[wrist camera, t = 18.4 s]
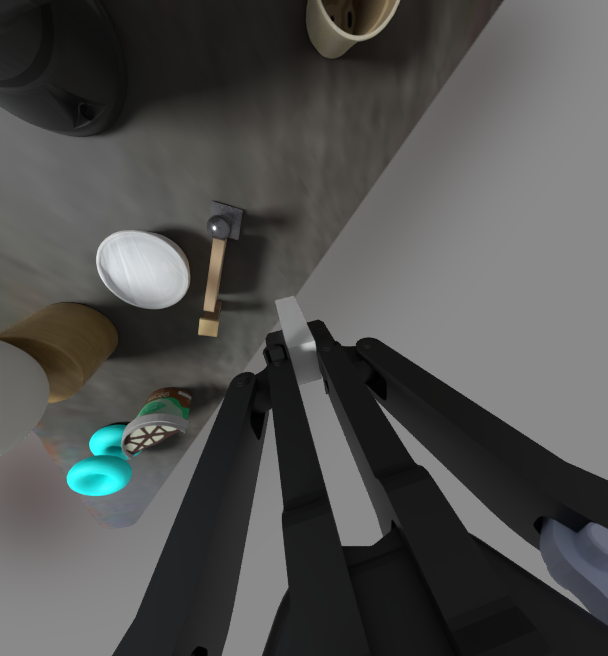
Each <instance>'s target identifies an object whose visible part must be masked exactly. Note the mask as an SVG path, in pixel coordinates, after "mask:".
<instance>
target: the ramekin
mask: <svg viewBox="0 0 608 656" xmlns="http://www.w3.org/2000/svg"><path fill="white" fill-rule="evenodd" d="M96 264H97V269H98V272H99V275H100V277H101V279H102V280H103V282H104V284H105V285H106V286H107V287H108V289H109V290H110V291H111V292H113V293H114V294H115V295H116V296H117V297H119V298H120V299H122V300H123V301H125V302H127V303H129V304H131V305H134V306H137V307H141V308H146V309H162V308H166V307H169V306H171V305H174V304H175V303H177V302H178V301H180V300H181V299H182V298H183V296H184V295H185V294H186V292H187V290H188V288H189V285H190V267H189V262H188V259H187V258H186V255H185V254H184V252H183V251H182V250H181V248H180V247H179V246H178V245H177V244H175V243H174V242H173V241H171V240H170V239H169V238H167V237H165V236H162V235H160V234H157V233H151V232H147V231H143V230H124V231H119V232H116V233H114V234H112V235H110V236H108V237H107V238H106V239H105V240H104V241H103V242H102V243H101V245H100V246H99V248H98V251H97V257H96Z"/></svg>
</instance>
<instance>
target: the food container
mask: <svg viewBox="0 0 608 656" xmlns="http://www.w3.org/2000/svg"><path fill="white" fill-rule="evenodd" d="M191 398H192V394H190V393H189V392H187V391H185V390H183V389H179V388H174V387H171V388H162V389H159V390H156V391H155V392H153V393H152V394H151V395H150V397H149V398H148V400H147V402H146V403H145V405H144V406H143V408H142V409H141V411H140V413H139V414H138V416H137V417H136V419H135V420H133V421H132V422H130V423H129V424H128V425H127V426H126V428H125V430H124V432H123V436H122V441H121V444H122V451H123V453H124V454H125V455H126V456H127V457H128V458H129V459H131V460H132V458H133V456H134V454H136V453H138V452H140V451H141V450H143V449H146V448H148V447H151V446H154V445H156V444H158V443H160V442H162V441H163V440H165V439H166V438H168V437H170V436H171V435H173V434H175V433H177V432H179V431H182V432H184V433H185V431H186V430H187V428H188V426H189V424H190V422H189V421H188V415H189V409H190V403H191Z"/></svg>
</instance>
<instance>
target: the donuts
mask: <svg viewBox="0 0 608 656" xmlns="http://www.w3.org/2000/svg"><path fill="white" fill-rule="evenodd" d="M126 426H127V425H121V424H118V425H110V426H106V427H104V428H102V429H100V430H98V431H97V432H96V433H95V434H94V435H93V436H92V437H91V440H90V449H91V451H92V453H93V454H94V455H95V456H92V457H88V458H86V459H83V460H81V461H80V462H78V463H77V464H75V465H74V466H73V467H72V468H71V470H70V471H69V473H68V476H67V483H68V485H69V486H70V487H71V489H73V490H74V491H76V492H78V493H81V494H84V495H91V496H101V495H108V494H112V493H114V492H117V491H119V490H121V489H122V488H124V487H125V486H126V485H127V484H128V482H129V481H130V479H131V477H132V468H131V466H130V464H129V463H128V462H127V461H125V460H128V459H129V458H128V457H127V456H126V455H125V454H124V453H123V451H122V444H121V441H122V436H123V432H124V430H125V428H126ZM141 451H142V450H141ZM141 451H140V452H141ZM140 452H138V453H136V454H134V456H133V457H135V456H136V455H138V454H139V453H140Z"/></svg>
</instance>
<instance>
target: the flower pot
mask: <svg viewBox="0 0 608 656" xmlns="http://www.w3.org/2000/svg"><path fill="white" fill-rule="evenodd" d="M399 2H400V0H308V4H307V10H306V24H307V31H308V35H309V38H310V40H311V42H312V44H313V45H314V47H315V48H316V49H317V51H318V52H319V53H320V54H321V55H322V56H324V57H326V58H331V59H334V58H338V57H340V56H342V55H343V54H344V53H345V52H346V51H347V50H348V49H350V48H351V47H352V46H353V45H354V44H355V43H357V42H360V41H365V40H368V39H370V38H372V37H374V36H375V35H377V34H378V33H379V32H380V31H382V30H383V28H384V27H385V26H386V25H387V24H388V23H389V21H390V20H391V18H392V17H393V15H394V13H395V11H396V9H397V7H398V5H399ZM349 12H351V15H352V20H351V27H348V13H349ZM331 17H333V18H334V21H332V20H331Z"/></svg>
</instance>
